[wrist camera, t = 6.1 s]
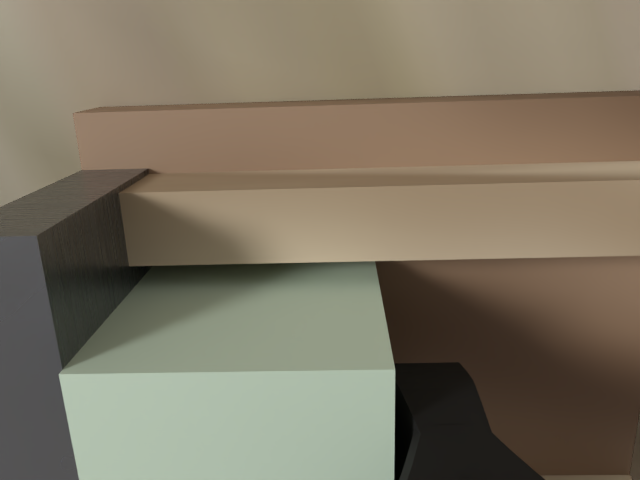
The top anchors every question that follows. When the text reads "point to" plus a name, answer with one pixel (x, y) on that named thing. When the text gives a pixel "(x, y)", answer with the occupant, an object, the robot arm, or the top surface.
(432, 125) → the track
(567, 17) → the top surface
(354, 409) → the block
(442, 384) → the robot arm
